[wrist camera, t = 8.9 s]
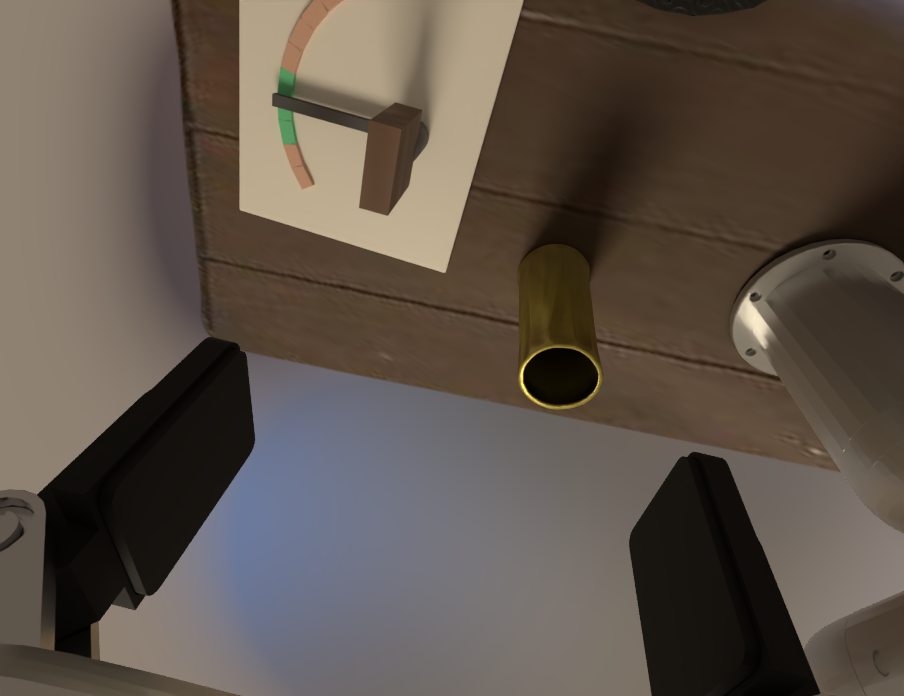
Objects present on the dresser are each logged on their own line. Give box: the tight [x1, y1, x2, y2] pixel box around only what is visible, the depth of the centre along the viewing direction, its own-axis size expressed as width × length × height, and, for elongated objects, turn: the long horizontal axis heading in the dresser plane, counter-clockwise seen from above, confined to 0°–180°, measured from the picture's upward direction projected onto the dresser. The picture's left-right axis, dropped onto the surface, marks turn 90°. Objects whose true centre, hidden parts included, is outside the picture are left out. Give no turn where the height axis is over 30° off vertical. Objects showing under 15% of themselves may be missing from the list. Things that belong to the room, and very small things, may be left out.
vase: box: [517, 244, 603, 409], centre depth 36 cm, size 6×6×14 cm
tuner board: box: [240, 0, 524, 273], centre depth 36 cm, size 18×20×2 cm
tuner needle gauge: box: [272, 93, 429, 216], centre depth 31 cm, size 11×5×9 cm, turn 77°
